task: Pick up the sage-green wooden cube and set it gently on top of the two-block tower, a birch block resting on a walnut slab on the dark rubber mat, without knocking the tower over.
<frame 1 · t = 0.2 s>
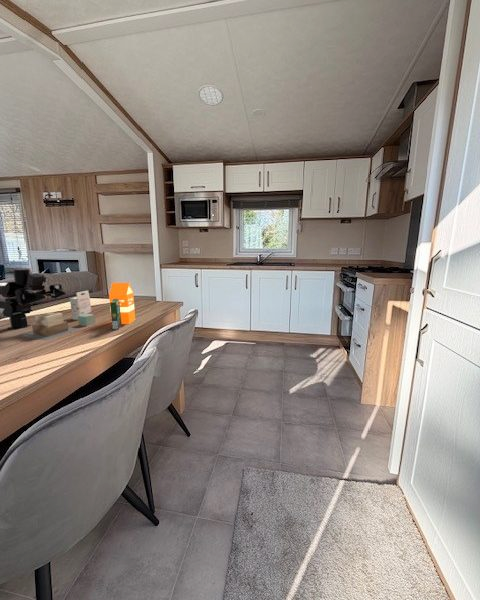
hand: (55, 295, 116), 17 cm above the table, tool horizontal, fingers open, 9 cm apart
birch block: (50, 323, 117), point 4 cm above the table, touching walnut slab
ink cartridge box: (82, 318, 143), on the table
walnut slab: (51, 332, 117), resting on slate mat, touching birch block
slate mat: (51, 333, 117), on the table
coffee box: (117, 327, 126), on the table
sage cube: (87, 325, 130), on the table
orange juice: (123, 322, 136), on the table
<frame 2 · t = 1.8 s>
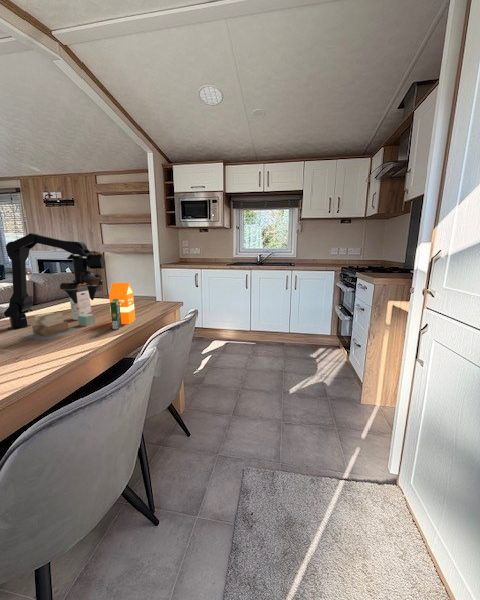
hand: (84, 301, 128), 12 cm above the table, tool pointing down, fingers open, 9 cm apart
nothing on the table moved.
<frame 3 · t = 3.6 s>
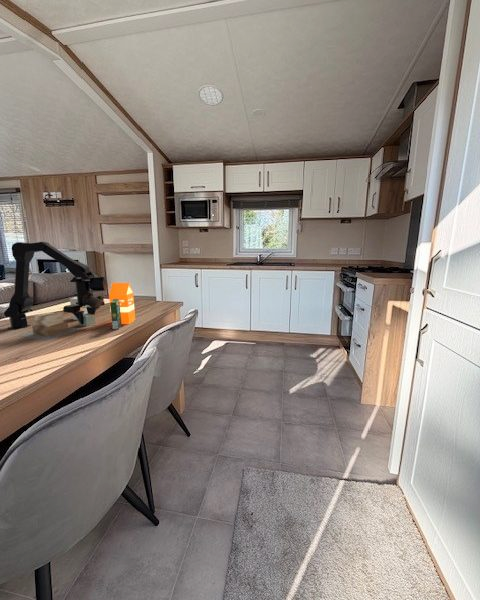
hand: (87, 322, 130), 1 cm above the table, tool pointing down, fingers closed on sage cube, 5 cm apart
sage cube: (87, 325, 130), on the table, touching gripper
everything else where it was.
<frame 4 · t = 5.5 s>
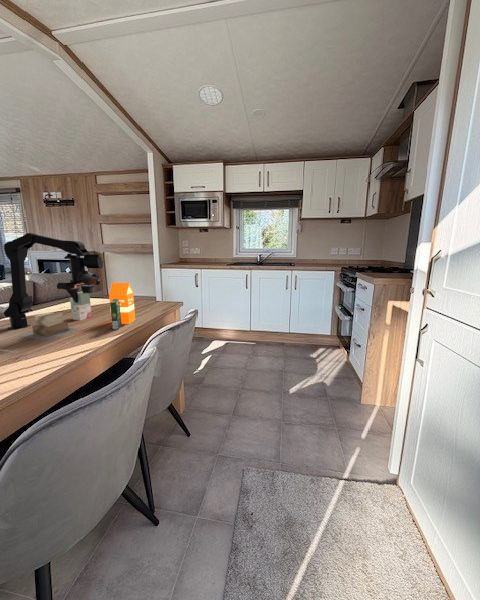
hand: (81, 301, 127), 12 cm above the table, tool pointing down, fingers closed on sage cube, 5 cm apart
sage cube: (81, 303, 127), point 11 cm above the table, touching gripper
everything else where it was.
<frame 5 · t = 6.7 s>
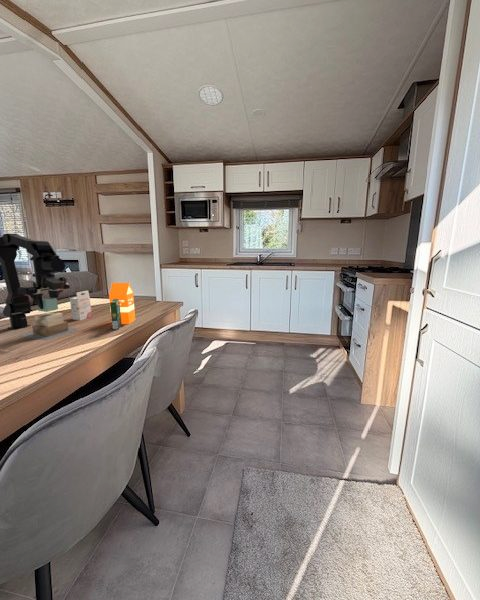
hand: (47, 307, 115), 11 cm above the table, tool pointing down, fingers closed on sage cube, 5 cm apart
sage cube: (48, 310, 116), point 10 cm above the table, touching gripper
everything else where it was.
when the fingers open (10 cm above the table, at t = 7.6 s): sage cube drops 1 cm, resting on birch block.
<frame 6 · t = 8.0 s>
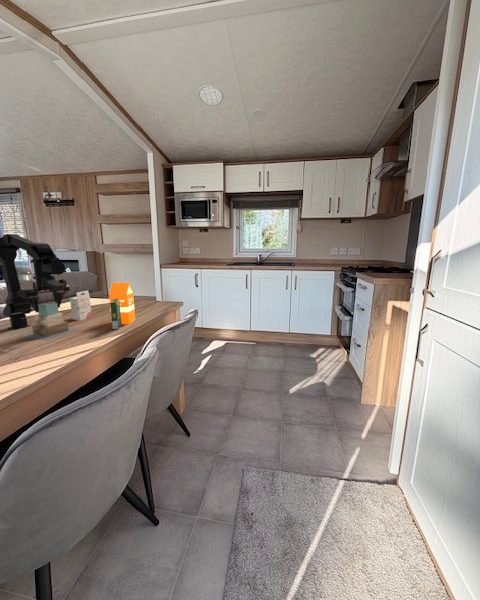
hand: (48, 310, 115), 10 cm above the table, tool pointing down, fingers open, 9 cm apart
birch block: (50, 323, 117), point 4 cm above the table, touching sage cube, walnut slab
sage cube: (48, 314, 116), point 8 cm above the table, touching birch block
everything else where it was.
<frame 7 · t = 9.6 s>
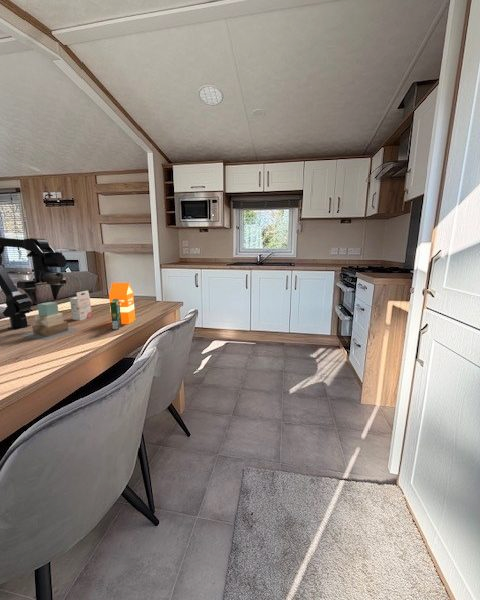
hand: (45, 301, 123), 13 cm above the table, tool pointing down, fingers open, 9 cm apart
nothing on the table moved.
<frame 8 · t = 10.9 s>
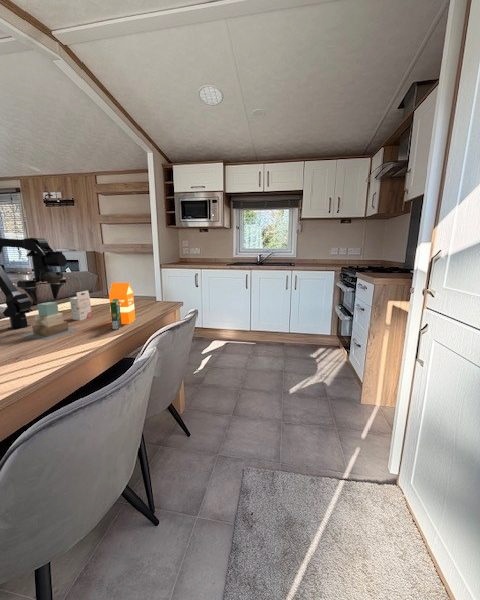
hand: (45, 300, 123), 13 cm above the table, tool pointing down, fingers open, 9 cm apart
nothing on the table moved.
at the end: sage cube 0.0 cm off-centre on the birch block, point 4.0 cm above the birch block's base; birch block 0.0 cm off-centre on the walnut slab, point 4.0 cm above the walnut slab's base; the gripper is holding nothing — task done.
